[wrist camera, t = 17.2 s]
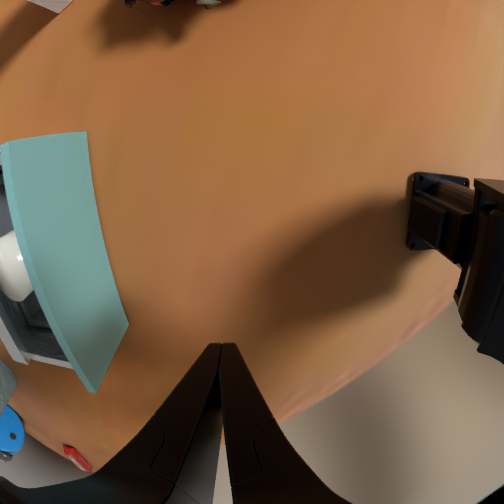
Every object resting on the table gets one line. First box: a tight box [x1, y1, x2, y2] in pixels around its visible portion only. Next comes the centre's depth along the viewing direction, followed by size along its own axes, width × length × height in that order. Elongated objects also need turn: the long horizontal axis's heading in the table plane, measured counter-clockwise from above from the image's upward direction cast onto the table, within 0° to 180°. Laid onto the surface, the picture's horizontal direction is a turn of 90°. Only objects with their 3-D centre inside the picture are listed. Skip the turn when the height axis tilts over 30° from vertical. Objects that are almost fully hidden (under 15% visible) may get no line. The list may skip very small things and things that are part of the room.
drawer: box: [0, 131, 129, 393], centre depth 15 cm, size 11×17×8 cm, turn 3°
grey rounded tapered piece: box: [0, 230, 34, 301], centre depth 16 cm, size 5×5×4 cm
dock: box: [0, 152, 73, 369], centre depth 16 cm, size 11×17×7 cm, turn 3°
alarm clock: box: [0, 405, 24, 462], centre depth 29 cm, size 13×6×15 cm, turn 48°
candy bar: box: [63, 446, 92, 471], centre depth 41 cm, size 16×4×3 cm, turn 171°
